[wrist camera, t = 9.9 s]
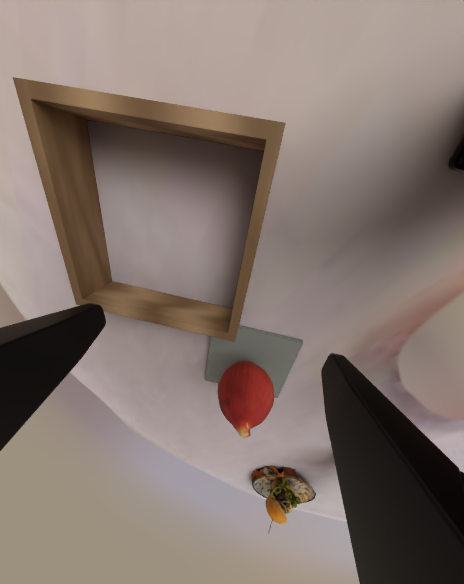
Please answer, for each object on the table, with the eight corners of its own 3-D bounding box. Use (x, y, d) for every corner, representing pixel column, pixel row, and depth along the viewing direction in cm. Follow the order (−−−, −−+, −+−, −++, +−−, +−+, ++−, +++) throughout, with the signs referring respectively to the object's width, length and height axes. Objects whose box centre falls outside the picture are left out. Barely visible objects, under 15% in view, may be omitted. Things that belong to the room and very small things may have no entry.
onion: (238, 383, 26) (227, 455, 19) (216, 352, 24) (195, 421, 17) (280, 373, 24) (285, 451, 17) (260, 339, 22) (257, 412, 15)
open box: (280, 139, 14) (285, 122, 10) (240, 316, 21) (234, 342, 18) (73, 103, 14) (12, 77, 11) (106, 286, 22) (76, 304, 19)
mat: (302, 340, 21) (302, 343, 21) (277, 394, 26) (277, 397, 26) (214, 319, 22) (213, 322, 22) (205, 376, 27) (204, 379, 26)
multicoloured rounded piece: (295, 497, 41) (301, 554, 35) (244, 479, 41) (239, 533, 35) (326, 478, 36) (340, 543, 29) (266, 456, 35) (266, 517, 29)
